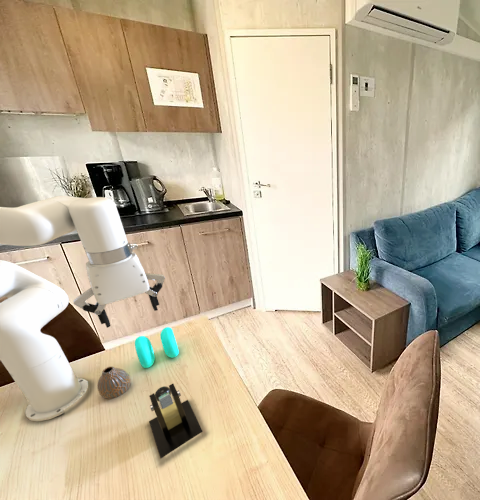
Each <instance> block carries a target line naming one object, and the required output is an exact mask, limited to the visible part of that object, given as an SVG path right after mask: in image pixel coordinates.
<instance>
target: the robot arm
mask: <svg viewBox="0 0 480 500" xmlns="http://www.w3.org/2000/svg"><path fill="white" fill-rule="evenodd" d="M75 231H76V232H77V235H78V237H79V240H80V242H81V245H82V247H83V250H84V252H85V254H86V257H87V260H88V261H87V262H86V263H85V270H86V274H87V279H88V281H89V285H90V288H88V289H87V290H85V291H84V292H82V293H81V294H80V295H78V296H77V297H75V298H74V299H73V305H75V306H76V307H78V308H80V309H82V310H83V311H84V312H87V313H92V314H94V315H96V316H97V317H98V320H99V323H100V324H101V325H104V324H105V327H106V328H110V327H111V322H110V319H109V316H108V314H107V311H106V309H105V308H106V306H107V305H110V304H114V303H117V302H120V301H124V300H127V299H131V298H133V297H137V296H140V295H143V294H146V295H148V298H149V301H150V304H151V307H152V309H153V311H154V312H157V311H158V309H159V308H158V306H160V302H159V298H158V295H159V292H160V291H161V289H162V288H163V284H164V282H165V280H166V277H165V275H164V274H160V273H152V272H151V273H150V272H146V271H145V269H144V267H143V265H142V263H141V261H140V258H139V257H138V255H137V254H136V252H135V251H134V250H137V249H139V247H138V243H137V242H135V243H132V242H131V243H130V242H129V241H128V238H127V235H126V232H125V229H124V226H123V223H122V219H121V217H120V214H119V210H118V208H117V205H116V203H115V201H113V199H111V198H109V197H102V196H97V197H78V196H71V195H56V196H51V197H47V198H45V199H41V200H38V201H37V200H36V201H34V202H30V203H27V204H23V205H20V206H16V207H5V206H0V245H4V246H15V247H16V246H18V247H34V246H40V245H44V244H47V243H49V242H52V241H54V240H56V239H58V238H60V237H62V236H64V235H66V234H69V233H72V232H75ZM149 281H156V282H155V284H154V285H153V286H150V283H149ZM93 296H94V298H95V301H96V303H95V304H93V303H90V302H87V300H89V299H90V298H92V297H93ZM2 298H5V299H4V300H3V301H1V302H0V362H1V363H2V365H3V366H4V367H5V369H6V370H7V371H8V373H9V375H10V376H11V378H12V380H13V381H14V382H15V384H16V385H17V387H18V389H19V390H20V391H21V393H22V394H23V396H24V398H25V399H26V401H27V402H28V405H27V407H26V408H25V410H24V411H25V412H24V413H25V416H26V418H27V419H28V420H29V421H31V422H43V421H48V420H52V419H54V418H56V417H59V416H61V415H63V414H65V410H67V408H70V407H71V406H72V405H75V403H77V402H78V401H79V400H80V399H81V398H82V397H83V396H84V395H85V394H86V392H87V390H88V389H89V381H88V380H87V379H85V378H82V377H81V378H78V376H77V375H76V373H75V371H74V369H73V368H72V366H71V364H70V362H69V360H68V358H67V356H66V355H65V353H64V351H63V349H62V347H61V345H60V344H59V342H58V340H57V339H56V338H55V337H54V336H52V335H49V334H47V333H43V332H42V331H41V329H42V328H43V327H45V326H46V325H47V324H48V323H49V322H51V320H53V319H54V318H55V317H57V316H58V315H59V314H61V313H62V312H64V310H66V308H67V307H68V305H69V303H70V298H69V295H68V293H66V291H65V290H64V289H63V288H62V287H60V286H58V284H55V283H53V282H51V281H50V280H47V279H45V278H44V277H42V276H40V275H38V274H36V273H33V272H32V271H30V270H28V269H26V268H24V267H22V266H20V265H18V264H16V263H13V262H11V261H8V260H4V259H3V260H2V259H0V299H2Z"/></svg>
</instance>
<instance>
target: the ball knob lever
mask: <svg viewBox="0 0 480 500" xmlns="http://www.w3.org/2000/svg"><path fill="white" fill-rule="evenodd" d="M154 394H155V397H156V399H157V402H158V403H159V405H160V406H161V408H162V409H164V408H166V407H168V406H170V405H171V404H173V402H174V400H173V397H172V394H171V391H170V388H169V386H161V387H159V388H157V389H156V390H155V393H154Z"/></svg>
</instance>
